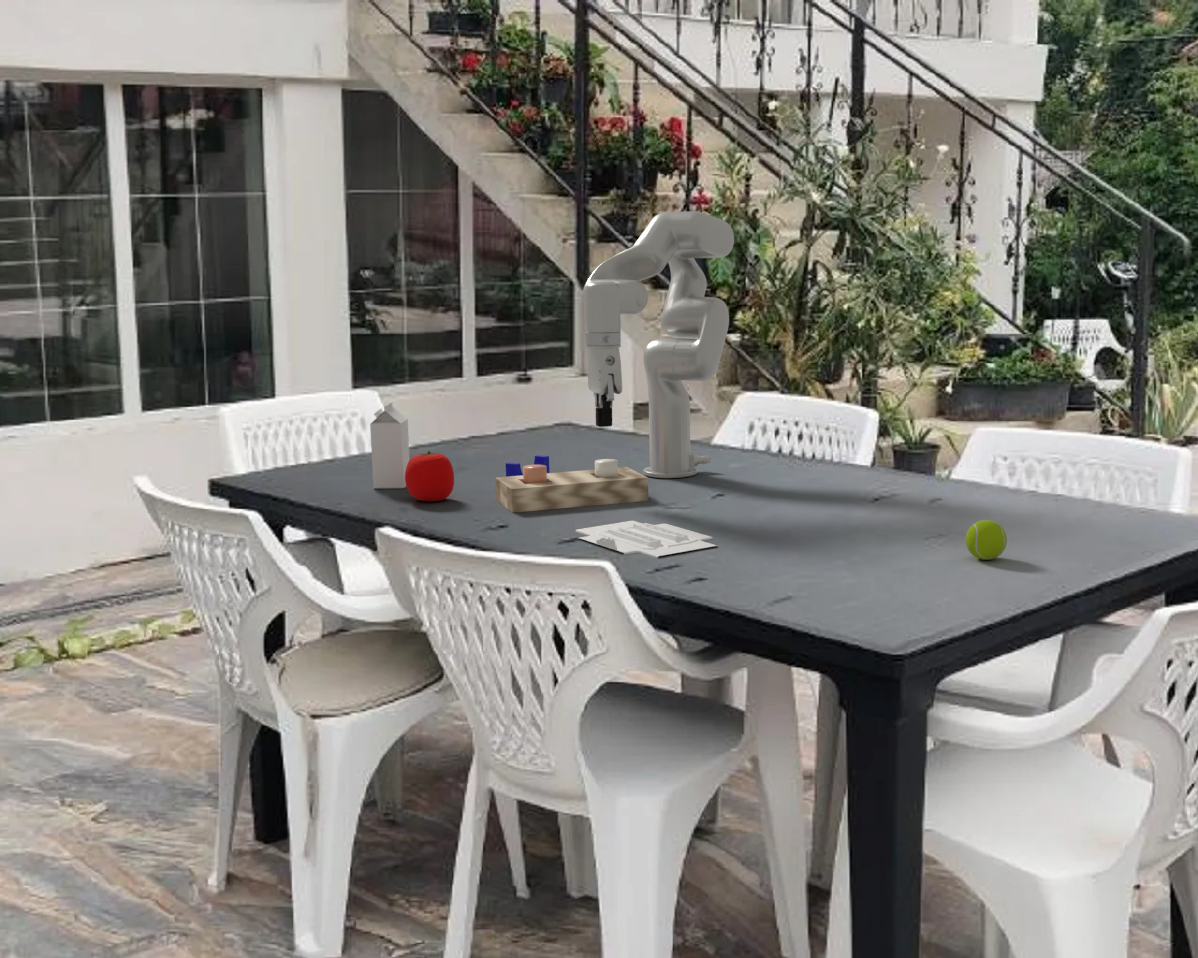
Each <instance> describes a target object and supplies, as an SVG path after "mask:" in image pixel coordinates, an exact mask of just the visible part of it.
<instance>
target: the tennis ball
mask: <svg viewBox="0 0 1198 958" xmlns="http://www.w3.org/2000/svg"><path fill="white" fill-rule="evenodd" d="M1007 543H1008V537H1007V533H1006V531H1005V528H1004V527H1003V526H1002V525H1001V524H1000V523H999V522H996V521H993V520H989V519H982V520H978V521H975V523H973V524H971V526H970V527H969V529H968V530H967V532H966V534H965V544H966V548H967V549H968V551H969V553H970V554H971V555H972V556H973V557H975V558H976V559H978V560H983V561H990V560H994V559H997V558H998V557H1000V556H1001V555H1002V554H1003V552H1004V551H1005V550H1006V547H1007Z"/></svg>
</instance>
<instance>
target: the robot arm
mask: <svg viewBox="0 0 1198 958" xmlns="http://www.w3.org/2000/svg"><path fill="white" fill-rule="evenodd" d="M734 244H735V234H734V231H733V228H732V227H731V225H730V224H729V223H728V222H727V221H725V220H723V219H720V218H718V217H715V216H713V215H710V214H708V213H705V212H701V211H697V210H696V211H694V210H693V211H664V212H660V213H658V214H656V215H655V216H653V218H651V220H650V222H649V223H648V224H647V225H646V227H645V229H644V230H643V231H642V233H641V234H640V236H639V237H638V239H637V240H636V241H635V242H634V244H633V245H632V246H631V247H629V248H627V249H624V250H623V251H621V252H619V253H617V254H615V255H614V256H612V257H610V258H608V259H607V260H605V261H603V262H601V264H599V265H598V266H597V267H595V270H593V272H592V273H591V274H590V275H589V278H587V280H586V282H585V284H584V286H583V289H582V292H581V295H582V296H581V300H582V304H583V306H584V324H585V325H584V331H585V332H584V333H585V334H584V338H585V339H584V340H585V342H584V345H585V348H586V349H588V356H587V357H588V358H587V386H588V389H589V391H591V392H593V396H594V403H595V406H594V407H595V426H596V427H599V428H604V427H605V428H606V427H612V426H613V402H614V401H615V394H616V395H621V394H622V392H623V379H622V378H623V377H622V363H621V353H620V349H619V348H621V347H622V345H621V344H622V343H621V341H622V340H621V335H622V333H621V331H622V329H621V327H622V325H621V315H623V316H628V315H630V316H631V315H632V316H633V315H636V314H639V313H640V312H642V311H643V310H644V309H645V308H646V306H647V304H648V301H649V294H648V290H647V288H646V286H645V285H644V284H643V283H642V282H640V281H643V280H647V279H650V278H652V277H655V276H657V275H659V274H660V273H662V271H663V270H664V269H665V267H666V266H667V264H668V266H669V271H670V282H669V286H668V291H667V295H666V298H665V302H664V306H663V308H662V313H661V317H660V329H661V330H662V332H663V333H664V334H665V335H667V336H669V337H659V338H656V339H654V340H650V342H648V343H647V345H645V348H644V351H643V354H642V355H643V359H642V360H643V366H644V371H645V376H646V382H647V390H648V391H647V393H648V394H647V395H648V428H649V429H648V430H649V431H648V433H649V434H648V435H649V436H648V437H649V438H648V439H649V466H646V467H644V468H643V469H642V472H643V474H642V475H644V476H646V477H648V478H650V477H651V478H657V479H680V478H687V477H693V476H695V475H697V474H698V468H697V466H698V465H705V464H706V465H709V464H711V461H712V460H711V456H710V455H697V454H694V453H691V417H690V416H691V400H690V396H689V392H688V391H687V388H686V387H685V385H684V384H683V382H682V381H688V382H689V381H690V382H692V381H693V382H705V381H709V380H711V379H712V378H713V377H714V376H715V375H716V374H717V371H718V369H719V365H720V362H721V358H722V353H723V350H724V347H725V342H726V338H727V334H728V331H729V325H730V314H729V308H728V306H727V304H726V303H725V301H724V300H723V299H720V298H719V297H713V296H712V297H711V296H705V294H706V290H707V287H708V283H707V278H706V275H705V274H704V271H703V270H702V268H701V266H699V264H698V263H697V261H696V259H721V258H724V257H727V256H728V255H729V254H730V253H731V252H732V250H733V248H734Z"/></svg>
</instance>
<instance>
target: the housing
mask: <svg viewBox="0 0 1198 958" xmlns="http://www.w3.org/2000/svg"><path fill="white" fill-rule="evenodd" d="M494 480H495V481H494V482H495V500H496V502H497V503H499V505H502V506H503V507H504V508H506V509H507V510H508V511H510V512H511V513H523V512H525V513H526V512H535V511H537V512H538V511H545V510H557V509H567V508H569V509H570V508H578V507H579V508H580V507H592V506H601V505H613V504H625V503H635V502H636V503H637V502H647V501H649V476H646V475H644V474H642V473H639V472H638V471H636V470H635V469H632V468H630V467H628V466H623V467H621V466H619V467H618V476H617V477H605V478H596V477H595V469H586V470H573V471H572V470H571V471H559V472H550V473H547V482H545V483H533V484H524V483H523V475H521V476H509V477H506V476H500V477H495V479H494Z"/></svg>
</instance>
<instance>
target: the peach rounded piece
mask: <svg viewBox="0 0 1198 958" xmlns="http://www.w3.org/2000/svg"><path fill="white" fill-rule="evenodd" d="M522 473H523V483H524V484H533V483H545V482H547V468H546V466H545V465H534V464H527V465H523V466H522Z"/></svg>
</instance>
